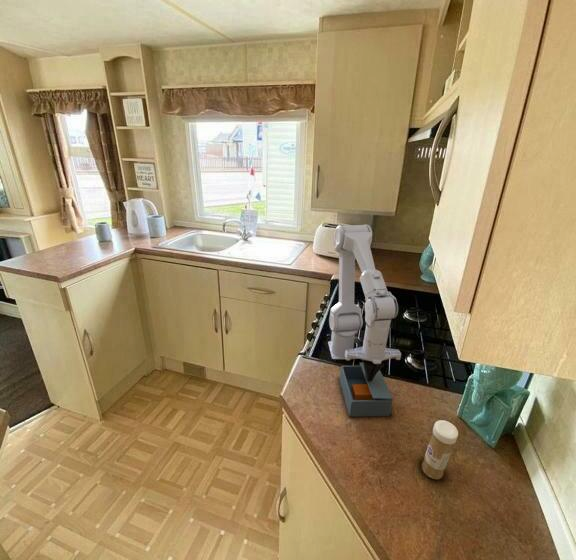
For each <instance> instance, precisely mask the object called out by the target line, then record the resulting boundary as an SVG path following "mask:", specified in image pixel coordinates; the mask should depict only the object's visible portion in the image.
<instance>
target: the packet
mask: <svg viewBox="0 0 576 560" xmlns="http://www.w3.org/2000/svg"><path fill="white" fill-rule="evenodd" d="M351 392H352V395H353V398H354V400H376V399H373V397H372V395H371V392H370V389H369V387H368V384H352V388H351Z"/></svg>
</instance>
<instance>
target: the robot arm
mask: <svg viewBox="0 0 576 560" xmlns="http://www.w3.org/2000/svg"><path fill="white" fill-rule="evenodd" d="M372 241H373V230H372V227H371V226H370V225H369V224H357V225H353V224H352V225H341V224H339V225H337V226H336V228H335V230H334V233H333V250H334V252H336V253H338V302H337V303H336V304H334V305H333V306H332V307H331V308H330V311H329V317H328V325H329V329H330V330H331V336H330V337H331V338H330V341H327V345H328V348H329V352H330V355H331V356H330V357H331V359H332V360H346V361H351V360H356V359H357V360H361V361H362V363H363V364H364V368H365V377H366V380H367V381H372V380H373V378H374V377H375V375H376V374H377V372H378V371H379V370H380V371H381V370H382V369H383V368H384V367H385V362H384V361H386V360H389V359H395V360H396V361H400V360H401V358H402V353H401V351H400V349H394V348H388V347H387V343H388V338H389V334H390V327H391V322H392V319H396V317H397V316H398V314H399V304H398V300H397V298H396V297H395V296H394V295H393V294H392V292H391V291H388V288H387V285H386V282H385V279H384V277H383V274H382V272H381V271H380V270H378V269H376V266H375V262H374V257H373V253H372V250H371V245H372V243H373V242H372ZM356 262H357V264H358V267H359V269H360V272H361V275H360V277H359V281H360V285H361V288H362V292H363V294H364V297H365V302H364V313H365V316H364V318H363V316H362V315H363V313H362V309H361V307H360V306H359V305H357V304H355V285H356V284H355V282H356V280H355V279H356V276H355V275H356ZM363 319H364V320H363ZM364 321H365V323H366V324H365V329H364V330H365V331H364V337H363V343H362V346H360V347H354V346H355V339H356V334H358V331H360V330H361V329H362V328H363V325H364Z"/></svg>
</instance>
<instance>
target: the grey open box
mask: <svg viewBox="0 0 576 560" xmlns="http://www.w3.org/2000/svg"><path fill="white" fill-rule="evenodd" d="M339 383H340V386H341V390H342V394H343V398H344V401H345V406H346V409H347V413H348V416H349V417H350V418H351V417H387V416H388V417H389V416H390V414H391V409H392V405H393V402H394V400H392V399H376V400H354V398H353V395H352V392H351V388H352V384H367V381H366V379H365V376H364V373H363V371H362V368H361V365H341V366H340V373H339Z"/></svg>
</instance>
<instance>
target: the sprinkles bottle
mask: <svg viewBox="0 0 576 560" xmlns="http://www.w3.org/2000/svg"><path fill="white" fill-rule="evenodd" d="M458 437H459V431H458V429H457V427H456V426H455V425H454V424H453V423H451V422H449V421H447V420H443V419H440V420H437V421H435V423H434V425H433V428H432V434H431V437H430V440H429V443H428V445H427V447H426V448H427V449H426V451H425V453H424V458H423V460H422V462H421V469H422V472H423V473H424V475H426V476H427V477H428V478H430V479H432V480H440V479H442V478H443V476H444V472H445V469H446V467H447V465H448V463H449V459H450V456H451V454H452V451H453V448H454V445H455V443H456V442H457V440H458Z"/></svg>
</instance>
